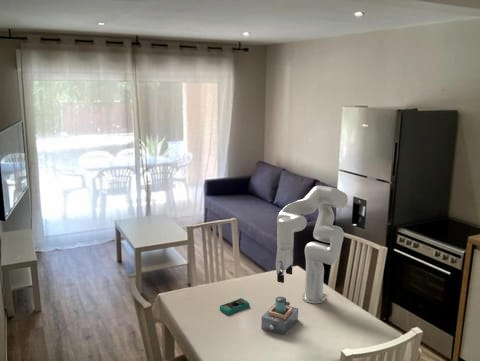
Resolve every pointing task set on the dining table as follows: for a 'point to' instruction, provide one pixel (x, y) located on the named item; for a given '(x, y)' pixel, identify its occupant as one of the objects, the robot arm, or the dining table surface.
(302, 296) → the robot arm
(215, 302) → the dining table surface
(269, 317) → the grey box
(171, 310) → the dining table surface
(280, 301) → the cylinder
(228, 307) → the digital multimeter
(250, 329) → the dining table surface
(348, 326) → the dining table surface
